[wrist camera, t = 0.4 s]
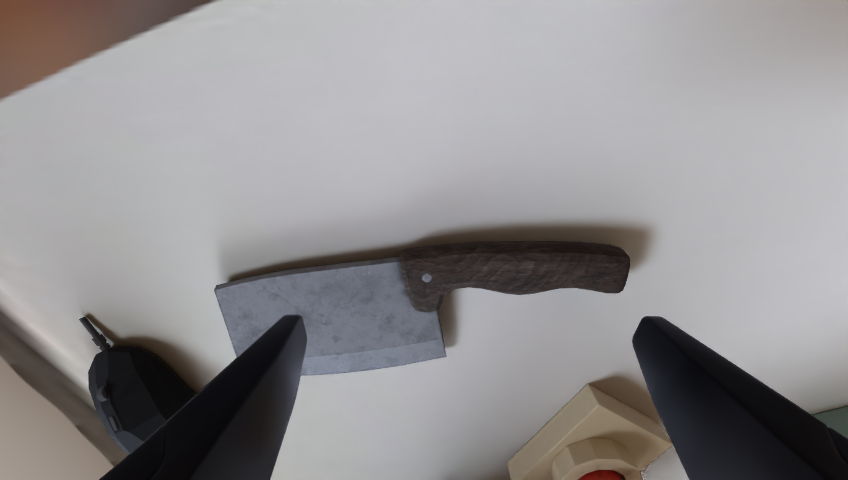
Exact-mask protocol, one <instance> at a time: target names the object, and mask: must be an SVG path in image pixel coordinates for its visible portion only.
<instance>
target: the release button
mask: <svg viewBox="0 0 848 480" xmlns="http://www.w3.org/2000/svg"><path fill="white" fill-rule="evenodd" d="M579 480H622V479H621V477H620V475H619V474H618V473H617V472H616V471H614V470H596V471H593V472H590V473H587V474H584V475H583V476H582V477H581V478H580V479H579Z"/></svg>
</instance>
